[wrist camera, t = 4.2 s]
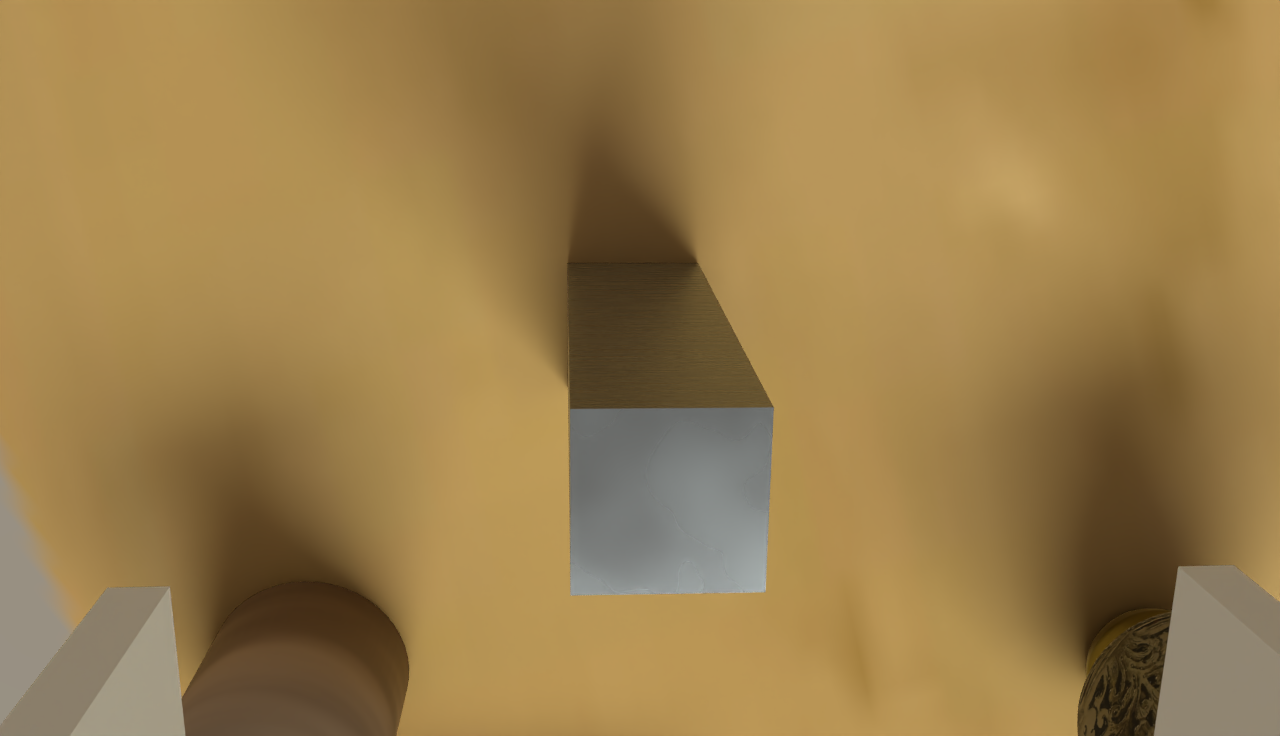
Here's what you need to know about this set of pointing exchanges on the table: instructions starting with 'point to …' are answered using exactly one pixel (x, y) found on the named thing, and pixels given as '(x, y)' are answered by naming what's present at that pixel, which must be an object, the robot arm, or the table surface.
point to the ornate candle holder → (1125, 675)
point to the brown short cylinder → (300, 668)
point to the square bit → (662, 437)
